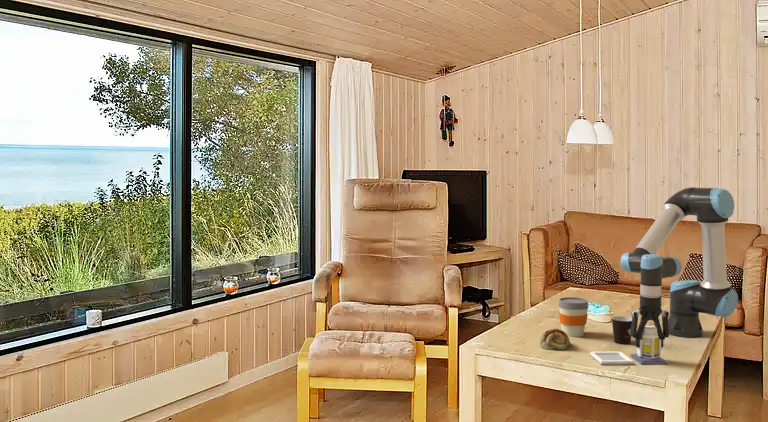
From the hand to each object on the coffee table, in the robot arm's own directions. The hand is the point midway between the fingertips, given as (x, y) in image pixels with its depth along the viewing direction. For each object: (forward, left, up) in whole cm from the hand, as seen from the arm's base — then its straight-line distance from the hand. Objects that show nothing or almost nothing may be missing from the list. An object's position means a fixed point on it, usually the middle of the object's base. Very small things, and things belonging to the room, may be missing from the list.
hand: (648, 355), depth 252 cm
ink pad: (0, 0, -2) cm, 2 cm away
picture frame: (+14, -1, -2) cm, 14 cm away
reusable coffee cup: (+17, -38, -2) cm, 42 cm away
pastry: (+30, -20, -2) cm, 36 cm away
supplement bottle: (0, 0, -1) cm, 1 cm away
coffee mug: (-1, -25, -2) cm, 25 cm away
